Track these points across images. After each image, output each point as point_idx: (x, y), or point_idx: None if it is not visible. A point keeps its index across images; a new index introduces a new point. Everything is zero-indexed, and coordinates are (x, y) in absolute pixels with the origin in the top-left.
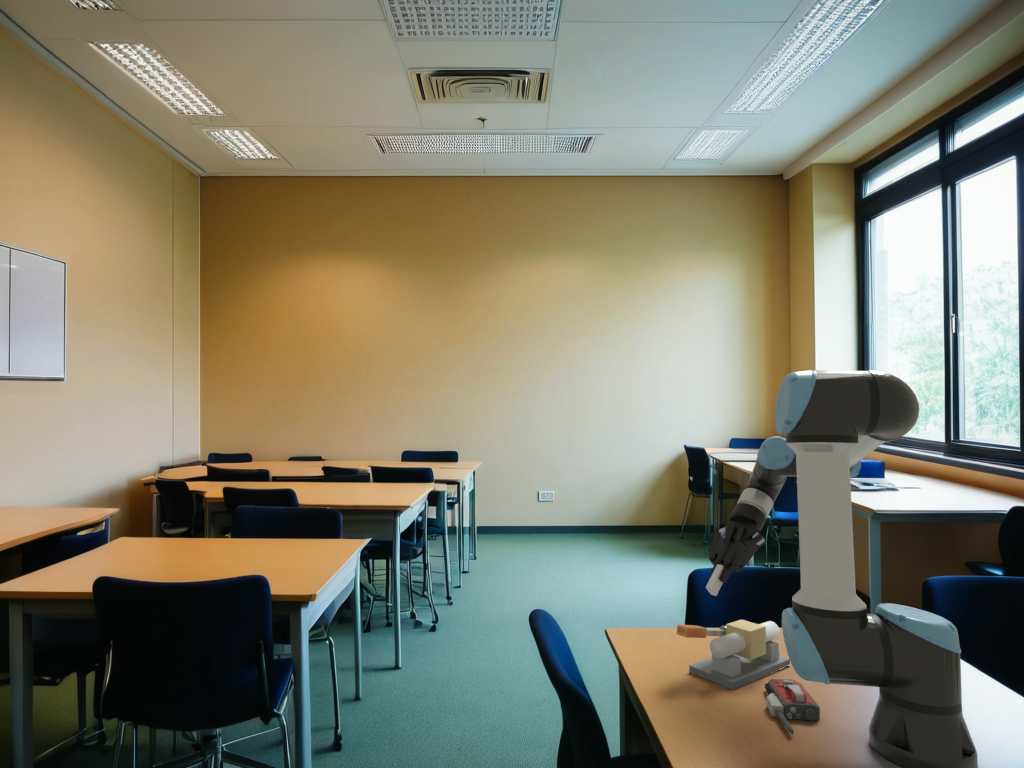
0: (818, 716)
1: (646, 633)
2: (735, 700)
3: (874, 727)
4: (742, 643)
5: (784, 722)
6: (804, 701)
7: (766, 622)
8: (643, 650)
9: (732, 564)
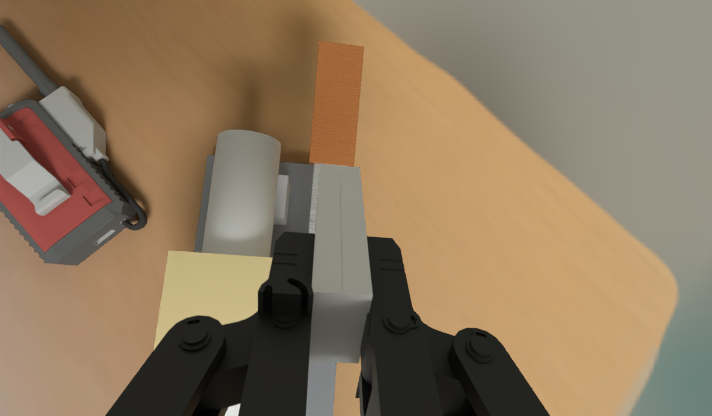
0: None
1: (608, 335)
2: (179, 111)
3: None
4: (204, 233)
5: (16, 46)
6: None
7: None
8: (517, 210)
9: (218, 321)
